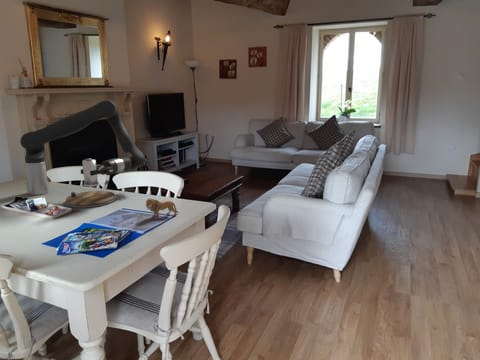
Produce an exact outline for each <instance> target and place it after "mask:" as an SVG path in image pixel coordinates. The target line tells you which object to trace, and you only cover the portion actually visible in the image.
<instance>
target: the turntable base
mask: <svg viewBox="0 0 480 360" xmlns="http://www.w3.org/2000/svg"><path fill="white" fill-rule="evenodd" d="M116 201H117V196H116V195H115V198H114V199H113V200H111V201H109V202H106V203H102V204H97V205H89V206H75V205H70V204H67V203H66V200H65V201H64V203H65V206H66V207H69V208H73V209H91V208H92V209H94V208H99V207H104V206H107V205H110V204H112V203H114V202H116Z"/></svg>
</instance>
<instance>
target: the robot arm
mask: <svg viewBox="0 0 480 360" xmlns="http://www.w3.org/2000/svg"><path fill="white" fill-rule="evenodd" d="M102 119H105V120H106V121H107V122H108V124H109V125H110V127H111V129H112V130H113V132H114V135H115V137H116V138H115V139H116V140H117V142H118V144H119V146H120V148H121V150H122V151H123V153H124V154H131V156H129V157H128V156H127V157H125V156H124V157H123V156H122V157H119V158H111V159H107V160H103V161H102V162H101V164H96V168H97V170H93V171H90V175H91V176H93V175H97V176H98V175H101V176H103V175H104V176H105V175H106V176H111V175H115V174H119V173H121V172H125V171H132V170H137V169H138V168H140V167H141V166H143V165H144V164H145V163H146V157H145V155H144V154H143V152H142V151H141V150H140V149H139V148H138V147H137V146H136V145H135V143H134V141H133V139H132V137H131V136H130V134H129V132H128V130H127V129H126V127H125V125H124V123H123V121H122V118H121V116H120V114H119V110H118V106H117V105H116V104H115V103H114V102H113V101H112V100H108V99H104V100H102V101H100V102H98V103H96V104H94V105H92V106H90V107H88V108H86V109H83V110H80V111H77V112H74V113H72V114H70V115H67V116H64V117H62V118H60V119H58V120H56V121H53V122H52V123H51V124H49V125H46V126H45V127H42V128H40V129H37V130H32V131H31V130H30V131H28V132H26V133H24V134H23V135H22V136H21V137H20V141H19V142H20V145H21V147H22V148H23V149H25V156H24V163H25V169H26V176H25V183H26V190H27V194H28V195H32V196H39V195H44V194H48V193H49V192H50V190H49V183H48V174H47V167H46V160H45V159H46V158H45V156H46V149H45V144H47V143H49V142H51V141H54V140H57V139H61V138H64V137H67V136H70V135H72V134H75V133H77V132H80V131H81V130H83V129H85V128H86V127H87V126H90V125H91V124H92V123H94V122H96V121H99V120H102ZM80 174H81V175H84V174H83V168H82V169H80Z"/></svg>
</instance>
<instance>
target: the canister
mask: <svg viewBox="0 0 480 360" xmlns="http://www.w3.org/2000/svg"><path fill="white" fill-rule="evenodd" d="M81 161H82V162H81V163H82V169H83V174H82V175H83V187H84V188H92V187H97V186H100V182H99V181H98V174H97V175H93V176H91V175H90V171H93V170H97V168H96V166H97V162H96V161H97V160H96V159H92V158H85V159H83V160H81Z"/></svg>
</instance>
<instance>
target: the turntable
mask: <svg viewBox="0 0 480 360" xmlns="http://www.w3.org/2000/svg"><path fill="white" fill-rule="evenodd" d="M115 196H116V194H115V193H114V192H113V191H109V190H108V191H107V190H88V191H83V192H78V193H77V192H76V191H72V192H70V195H69V196H67V197H66V199H65V201H66V203H67V204H70V205H75V206H89V205H97V204H102V203H106V202H109V201H111V200H113V199H114V198H115Z"/></svg>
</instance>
